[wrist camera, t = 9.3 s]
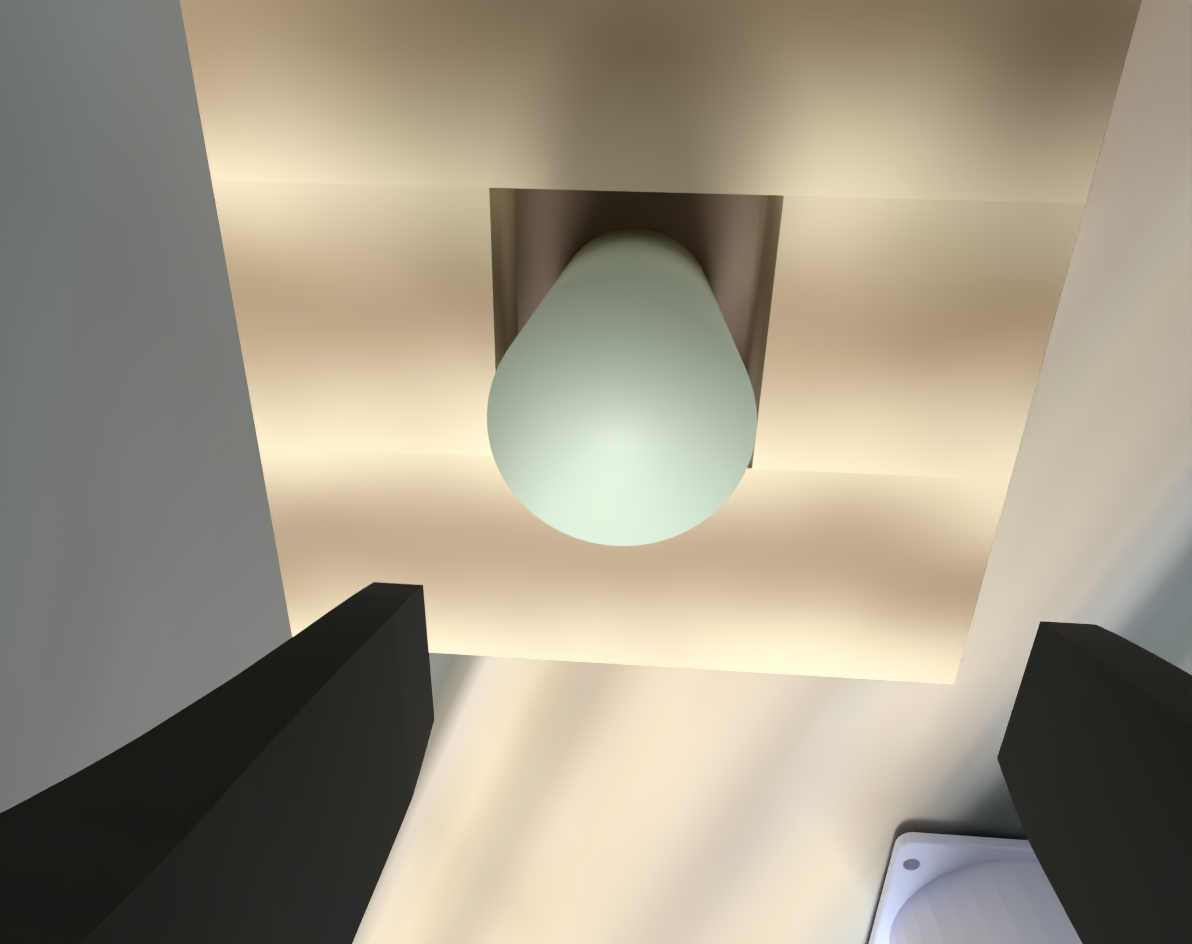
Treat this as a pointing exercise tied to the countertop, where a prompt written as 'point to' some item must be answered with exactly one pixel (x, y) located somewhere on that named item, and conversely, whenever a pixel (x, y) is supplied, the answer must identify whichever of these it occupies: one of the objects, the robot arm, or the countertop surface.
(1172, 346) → the countertop surface
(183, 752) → the robot arm
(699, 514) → the pin
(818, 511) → the pocket block
